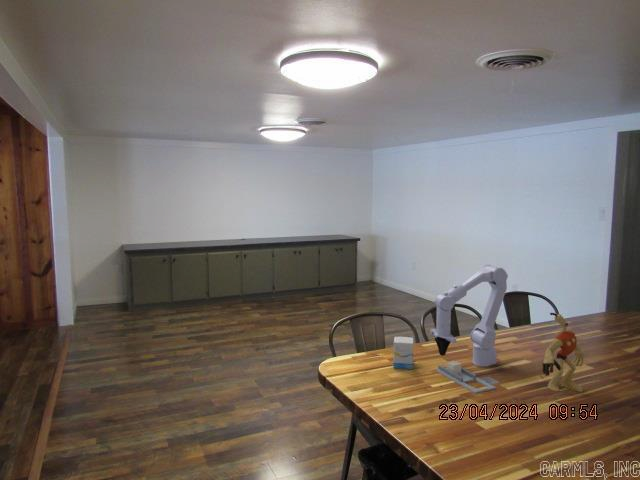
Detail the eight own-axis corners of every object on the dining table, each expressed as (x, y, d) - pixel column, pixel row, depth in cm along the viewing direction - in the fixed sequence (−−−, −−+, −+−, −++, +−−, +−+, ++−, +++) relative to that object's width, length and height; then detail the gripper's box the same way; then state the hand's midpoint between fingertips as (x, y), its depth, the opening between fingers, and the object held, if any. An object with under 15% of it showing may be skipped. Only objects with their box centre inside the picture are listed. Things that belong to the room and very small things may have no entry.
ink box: (413, 369, 188) (413, 343, 187) (393, 368, 190) (393, 342, 189) (413, 362, 196) (413, 337, 195) (393, 361, 198) (394, 335, 197)
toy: (550, 404, 157) (554, 321, 154) (528, 394, 164) (532, 315, 161) (589, 390, 167) (594, 313, 164) (568, 381, 175) (571, 307, 172)
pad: (488, 380, 177) (488, 376, 177) (499, 386, 172) (499, 382, 171) (478, 382, 175) (478, 378, 175) (489, 388, 170) (490, 384, 169)
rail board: (455, 370, 187) (455, 362, 187) (495, 392, 166) (496, 383, 166) (435, 374, 183) (435, 365, 183) (474, 397, 162) (475, 388, 162)
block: (454, 369, 183) (454, 360, 182) (461, 373, 179) (461, 363, 179) (446, 371, 181) (446, 362, 181) (453, 375, 177) (453, 365, 177)
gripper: (425, 320, 190) (424, 350, 192) (446, 329, 177) (446, 362, 178) (438, 318, 193) (437, 348, 194) (460, 327, 180) (459, 359, 181)
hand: (442, 354), depth 186 cm, fingers closed
